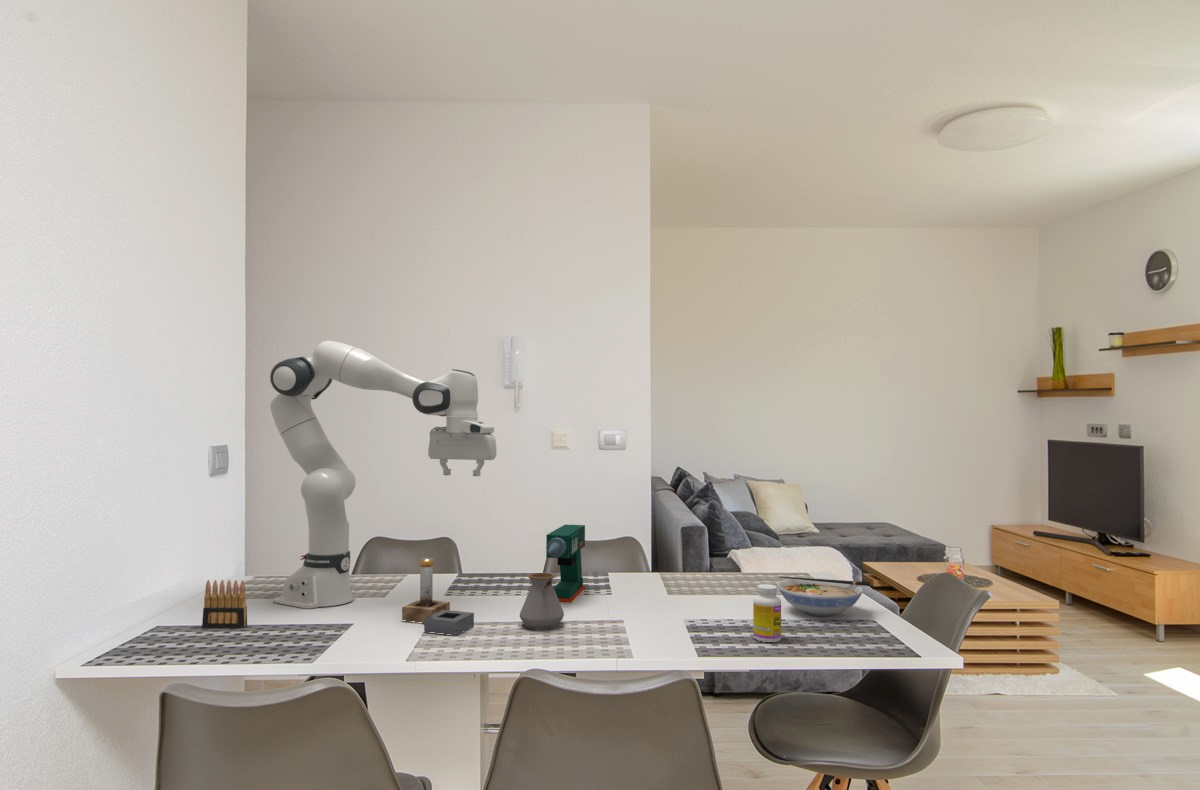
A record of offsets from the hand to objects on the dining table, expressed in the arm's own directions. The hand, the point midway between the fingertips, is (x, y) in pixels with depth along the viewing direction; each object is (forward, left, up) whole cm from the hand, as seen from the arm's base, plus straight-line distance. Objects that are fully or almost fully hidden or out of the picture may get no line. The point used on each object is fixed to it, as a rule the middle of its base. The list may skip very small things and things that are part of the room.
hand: (461, 475), depth 213 cm
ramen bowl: (+96, +28, -37) cm, 107 cm away
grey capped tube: (-3, -13, -36) cm, 39 cm away
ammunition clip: (-47, -37, -37) cm, 71 cm away
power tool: (+24, +18, -37) cm, 48 cm away
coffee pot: (+31, -13, -37) cm, 50 cm away
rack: (-3, -13, -37) cm, 39 cm away
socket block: (+8, -20, -37) cm, 43 cm away
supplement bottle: (+85, -2, -37) cm, 93 cm away
